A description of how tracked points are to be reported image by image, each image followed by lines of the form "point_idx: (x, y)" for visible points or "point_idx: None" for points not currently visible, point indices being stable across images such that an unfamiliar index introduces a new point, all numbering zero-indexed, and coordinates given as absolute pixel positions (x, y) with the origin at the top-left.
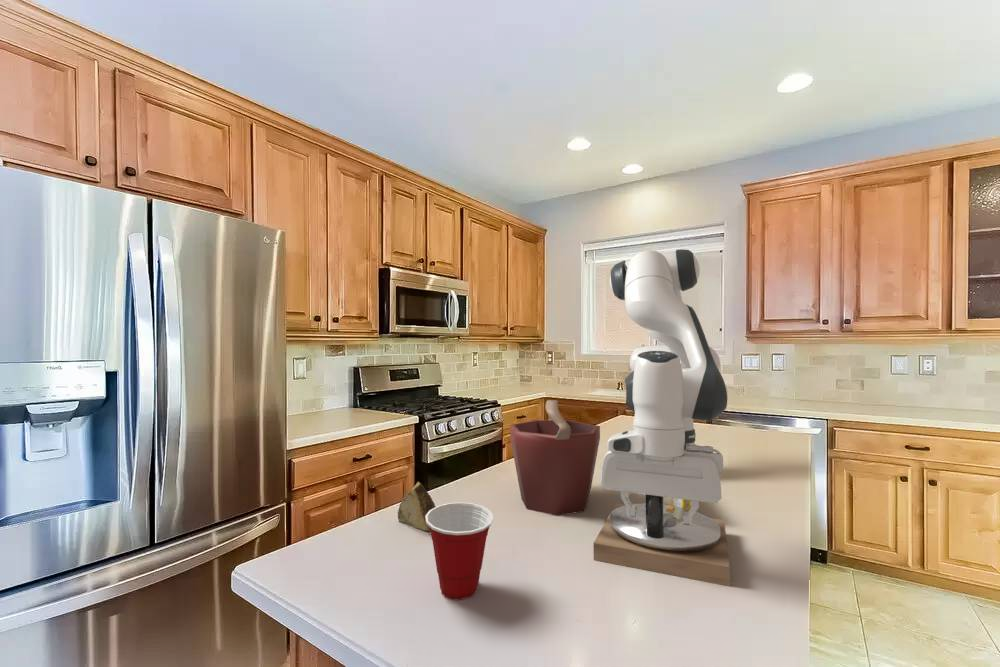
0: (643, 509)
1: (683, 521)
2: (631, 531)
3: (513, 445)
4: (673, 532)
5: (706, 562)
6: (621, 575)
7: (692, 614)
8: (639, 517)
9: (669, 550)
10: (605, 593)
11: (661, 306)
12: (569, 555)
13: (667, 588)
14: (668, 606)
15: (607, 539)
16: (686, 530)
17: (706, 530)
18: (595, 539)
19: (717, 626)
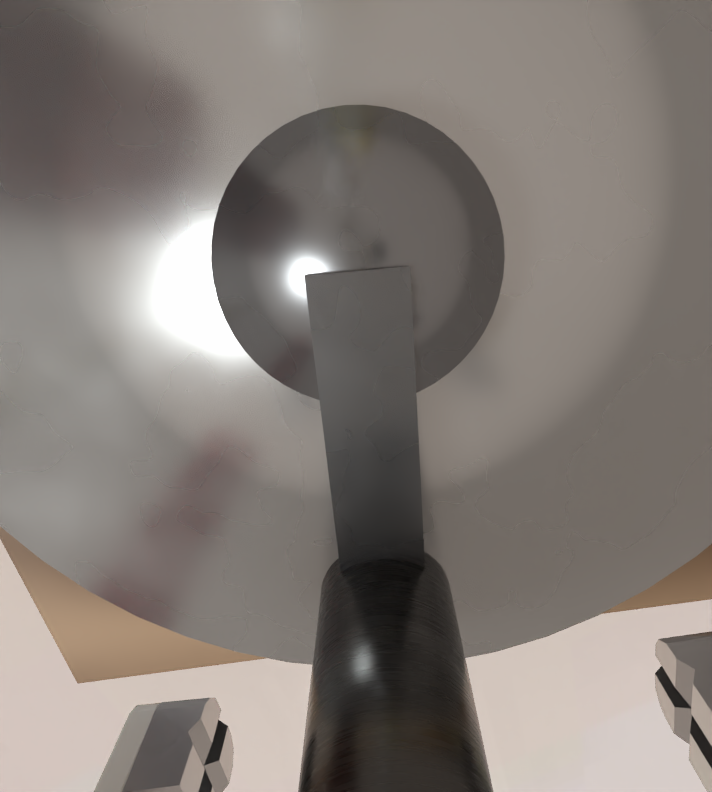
0: None
1: (679, 733)
2: (222, 613)
3: None
4: (502, 471)
5: (703, 593)
6: (291, 662)
7: (598, 756)
8: (130, 301)
9: None
10: (297, 781)
11: None
12: (7, 626)
13: (490, 660)
14: (515, 753)
15: (109, 611)
16: (601, 368)
17: None
18: (56, 643)
19: (678, 773)
